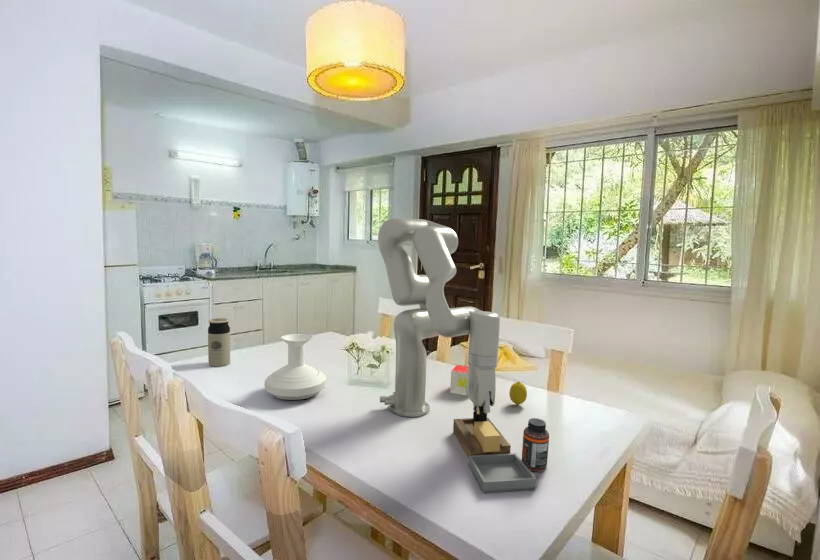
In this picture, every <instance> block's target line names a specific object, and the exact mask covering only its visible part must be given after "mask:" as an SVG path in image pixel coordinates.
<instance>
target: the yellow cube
mask: <svg viewBox="0 0 820 560" xmlns="http://www.w3.org/2000/svg"><path fill="white" fill-rule="evenodd" d="M487 428H494V427H493V425H492V424H491V423H490V422H489V421H484V422H474V438H475V440H476V441H477V443H478V441H479V429H487Z"/></svg>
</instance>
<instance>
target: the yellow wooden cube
mask: <svg viewBox="0 0 820 560" xmlns="http://www.w3.org/2000/svg"><path fill="white" fill-rule="evenodd" d="M478 444H479V446H480V447H481V449H482V450H483V452H497V451H500V434H499V433H498V432H497V431H496V430H495V428H487V429H479V441H478Z"/></svg>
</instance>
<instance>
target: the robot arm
mask: <svg viewBox="0 0 820 560" xmlns="http://www.w3.org/2000/svg"><path fill="white" fill-rule="evenodd" d="M377 244H378V248H379V249H378V250H379V252H380V255H381V257H382V259H383V261H384V264H385V270H386V273H387V279H388V283H389V287H390V292H391V296H392V299H393V302H394V303H395V304H396V305H397V306H401V307H402V306H403V307H408V306H409V307H411V306H419V308H413V309H406V310H405V309H404V310H402V311H401V312H400V313H398V314H397V315H396V316H395V318H394V319H393V332H394V337H395V377H394V379H395V380H394V381H395V382H394V391H393V392H392V394H390V395H389V396H386V395H380V396H379V403H380V404H381V403H383V404H384V405H386V406H389V410H390V411H391V413H393V414H394V415H397V416H400V417H409V418H411V417H412V418H417V417H421V416H424V415H426V414H428V413H429V412H430V410H431V409H430V404H429V403H428V402H427V401H426V387H427V386H426V385H427V384H426V383H427V360H428V359H427V358H428V357H427V356H428V355H427V350H426V348H425V346H424V343H423V340H425V339H429V338H435V337H439V336H441V337H444V338H455V337H461V336H466V335H467V336H468V335H469V339H468V341H469V342H468V357H467V358H468V359H467V360H468V361H467V364H468V365H467V366H468V374H467V385H466V394H467V396H466V397H467V398H468V399H469V400H470V401H471V403H472V404H473V405H472V406H473V407H472V409H473V413H472V418H473V426H474V422H484V421H487V418H488V414H489V413H491V407H494V406H495V403H496V386H497V385H496V383H497V382H496V368H497V367H498V362H499V361H498V359H499V357H498V356H499V344H500V343H499V341H500V327H501V326H500V324H501V323H500V322H501V321H500V319H501V318H500V316H499V314H498V313H496V312H492V311H486V310H485V311H483V310H480V309H479V308H477V307H474V306H461V307H452V308H450V307H449V304H448V302H447V299H446V297H445V291H444V289H445V285H446V283H447V282H449V281H451V280H452V279H453V278H454V277H455V276H456V274H457V267H456V265H455V262H454V261H453V259H452V256H451V255H452V254H453V253H455V252H456V250H457V249H458V247H459V237H458V235H457V233H456V231H454V229H452V228H451V227H449V226H446V225H443V224H440V223H436V222H434V221H431V220H428V219H427V220H426V219H424V218H423V219H420V218H408V217H394V218H393V217H392V218H388V219H386V220H385V221H384V222H382V224H381V225H380V228H379V229H378V234H377ZM404 246H407V247H408V246H412V247H414V249H415V251H416V254H417V256H418V258H419V261H420V263H421V265H422V268H423V270H424V272H425V274H416V271H415V268H414V263H413V261H412V258H411V257H410V254H409V253H408V252H407V251H406V249H404V248H403V247H404Z"/></svg>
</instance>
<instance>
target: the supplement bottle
mask: <svg viewBox="0 0 820 560" xmlns="http://www.w3.org/2000/svg"><path fill="white" fill-rule="evenodd" d="M546 428H547V424H546V421H545V420H544V419H540V418H535V417H534V418H529V420H528V424H527V426H526V427H525V428H524V429H523V434H522V449H521V460H522V462H523V463H524V464H525V465H526V467H527V468H528V469H529V470H530V472H536V473H538V472H539V473H540V472H543V471H545V470H547V467H548V457H549V456H548V454H549V444H550V433H549V431H548V430H547V429H546Z"/></svg>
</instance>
